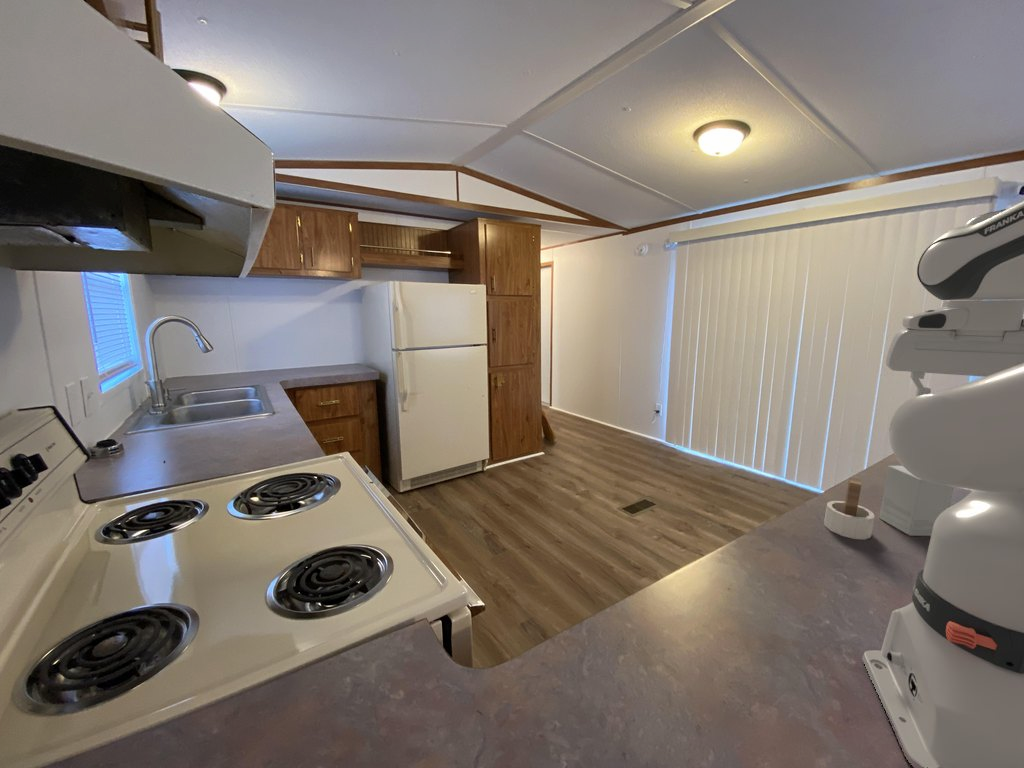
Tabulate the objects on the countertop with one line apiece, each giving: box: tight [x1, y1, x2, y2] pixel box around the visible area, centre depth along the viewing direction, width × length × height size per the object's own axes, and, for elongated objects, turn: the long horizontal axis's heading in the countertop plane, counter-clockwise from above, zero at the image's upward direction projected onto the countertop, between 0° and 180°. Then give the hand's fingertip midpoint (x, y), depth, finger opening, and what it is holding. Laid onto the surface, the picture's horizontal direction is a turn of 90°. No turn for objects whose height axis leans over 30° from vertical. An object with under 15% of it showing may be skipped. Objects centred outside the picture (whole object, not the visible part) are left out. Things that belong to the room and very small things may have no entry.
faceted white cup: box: [823, 500, 875, 540], centre depth 86 cm, size 8×8×4 cm
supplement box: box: [879, 465, 954, 537], centre depth 86 cm, size 7×7×13 cm
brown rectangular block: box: [843, 477, 862, 517], centre depth 85 cm, size 3×2×10 cm, turn 143°
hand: (961, 401), depth 68 cm, fingers open, 8 cm apart
